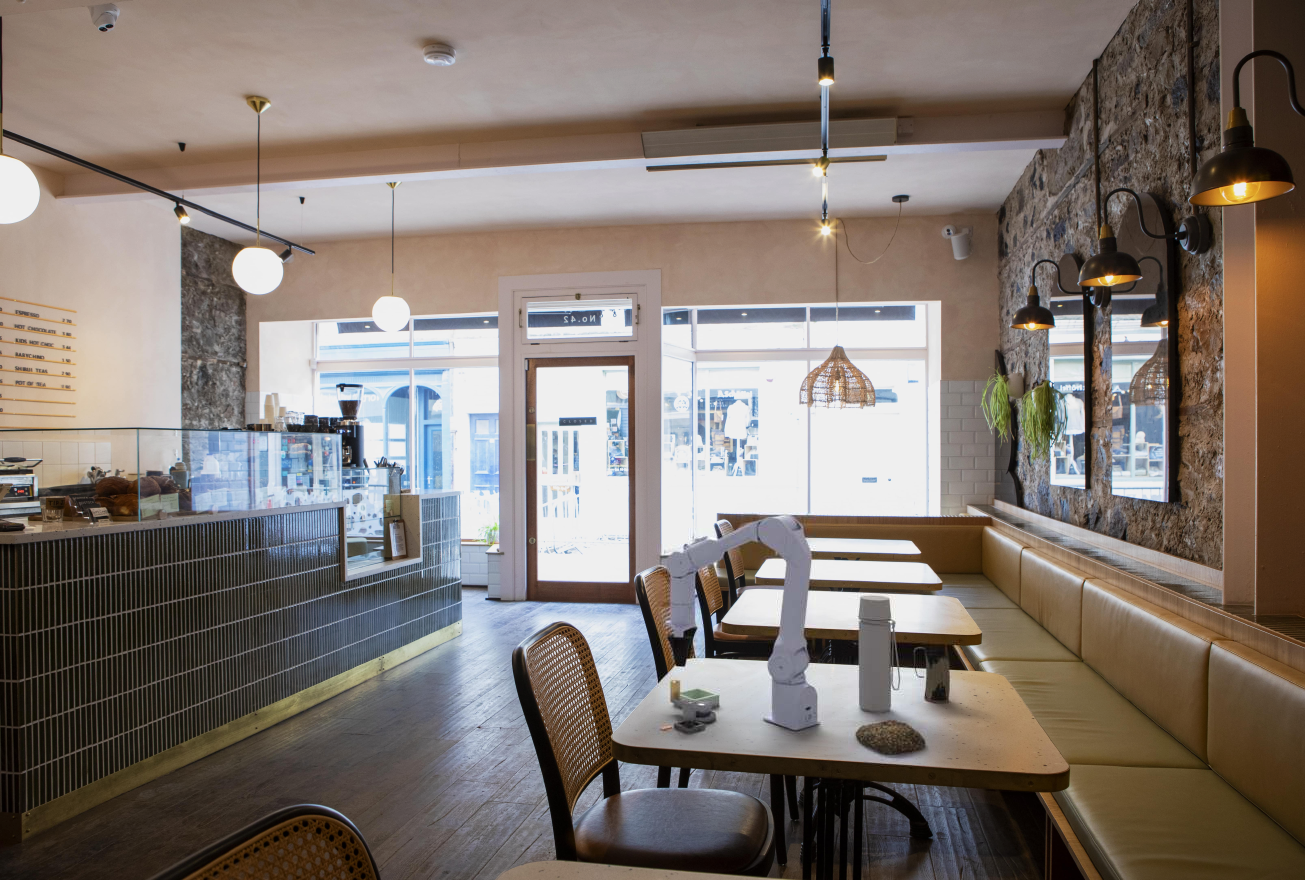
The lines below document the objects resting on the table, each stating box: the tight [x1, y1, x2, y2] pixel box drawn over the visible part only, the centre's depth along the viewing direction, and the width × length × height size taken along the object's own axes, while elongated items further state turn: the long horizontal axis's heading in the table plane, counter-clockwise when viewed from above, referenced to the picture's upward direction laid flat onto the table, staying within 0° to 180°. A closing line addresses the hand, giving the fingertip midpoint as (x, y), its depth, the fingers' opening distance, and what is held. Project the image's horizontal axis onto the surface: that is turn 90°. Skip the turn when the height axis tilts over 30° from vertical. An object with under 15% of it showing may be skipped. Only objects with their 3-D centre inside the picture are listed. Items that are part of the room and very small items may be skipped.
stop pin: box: [682, 701, 696, 728], centre depth 177 cm, size 3×3×6 cm
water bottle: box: [857, 594, 901, 714], centre depth 190 cm, size 9×8×25 cm
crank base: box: [659, 710, 717, 735], centre depth 180 cm, size 9×14×1 cm, turn 128°
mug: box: [913, 646, 951, 705], centre depth 197 cm, size 8×6×12 cm
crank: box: [669, 679, 712, 716], centre depth 185 cm, size 11×5×6 cm, turn 48°
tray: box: [674, 687, 720, 709], centre depth 193 cm, size 7×7×2 cm
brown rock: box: [855, 719, 927, 755], centre depth 168 cm, size 13×12×5 cm
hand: (682, 661), depth 194 cm, fingers open, 7 cm apart
